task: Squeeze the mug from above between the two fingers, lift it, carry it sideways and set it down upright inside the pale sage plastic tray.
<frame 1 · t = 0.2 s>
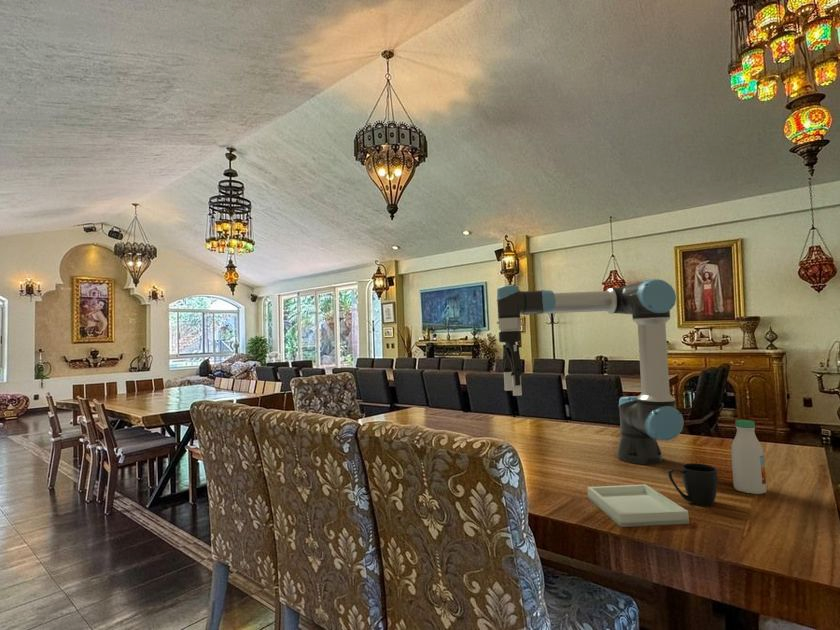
hand: (512, 393, 152), 28 cm above the table, tool pointing down, fingers open, 13 cm apart
mug: (693, 503, 122), on the table
tray: (634, 509, 119), on the table
milk bottle: (750, 490, 130), on the table
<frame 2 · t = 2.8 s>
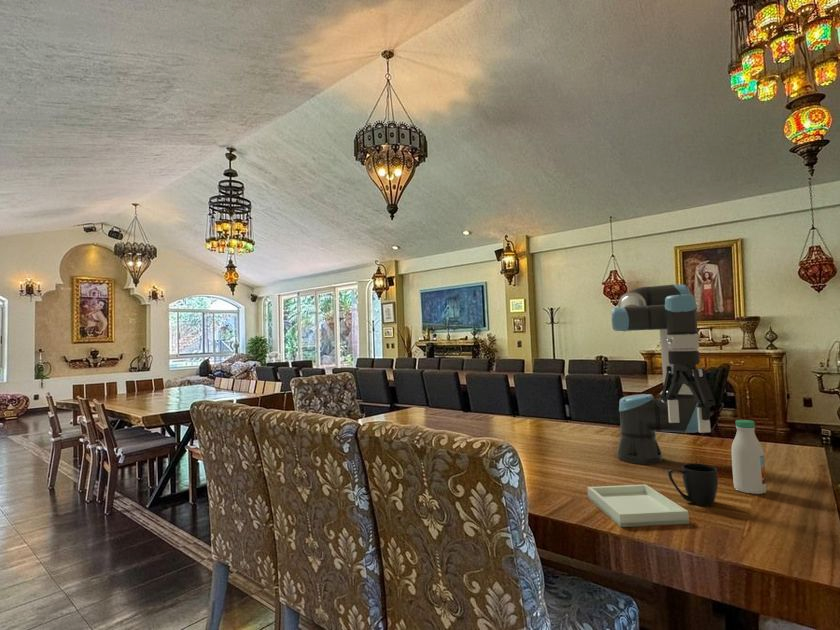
hand: (688, 427, 123), 20 cm above the table, tool pointing down, fingers open, 13 cm apart
nothing on the table moved.
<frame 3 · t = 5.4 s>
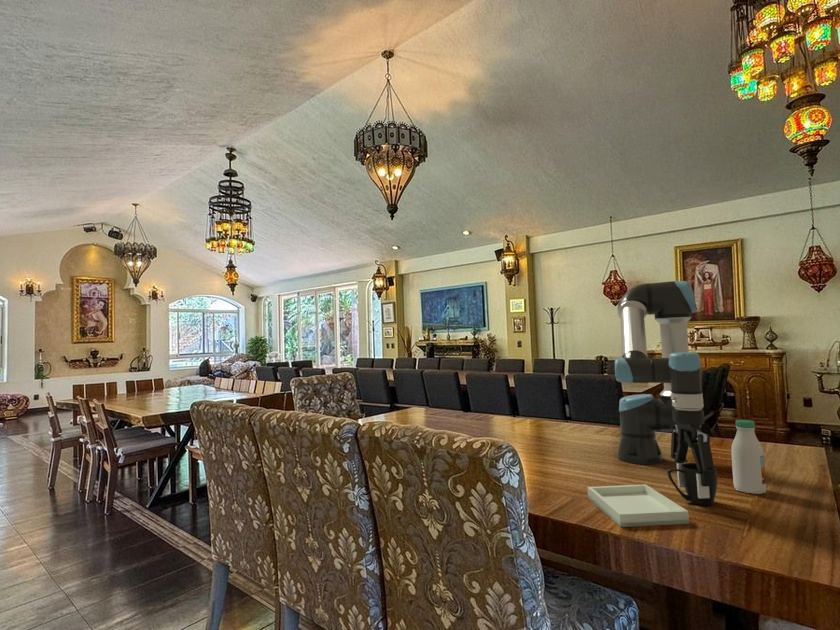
hand: (693, 491, 122), 3 cm above the table, tool pointing down, fingers closed on mug, 8 cm apart
mug: (693, 502, 122), on the table, touching gripper
everything else where it was.
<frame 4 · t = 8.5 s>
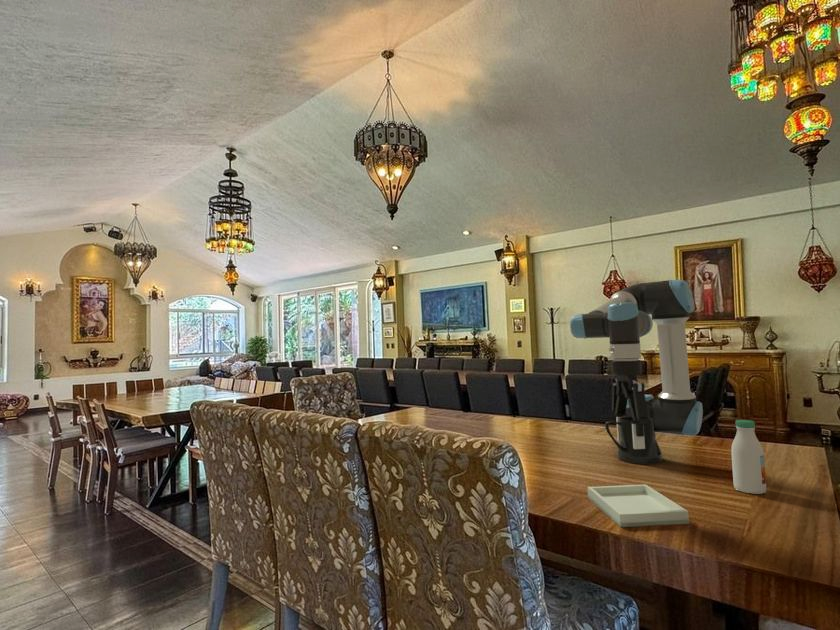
hand: (630, 444, 120), 17 cm above the table, tool pointing down, fingers closed on mug, 8 cm apart
mug: (631, 455, 120), point 14 cm above the table, touching gripper
everything else where it was.
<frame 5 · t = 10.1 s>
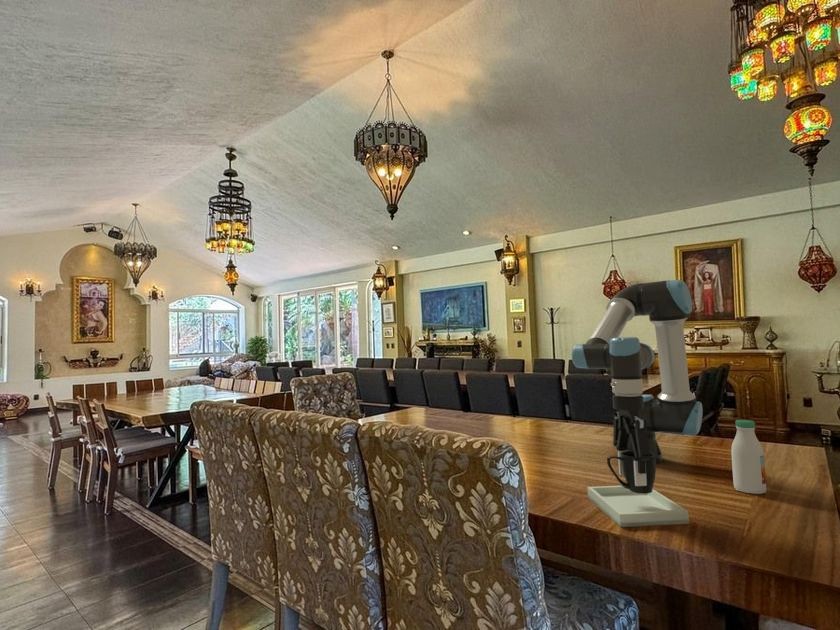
hand: (632, 479, 119), 8 cm above the table, tool pointing down, fingers closed on mug, 8 cm apart
mug: (633, 491, 119), point 5 cm above the table, touching gripper
everything else where it was.
when the fingers open (5 cm above the table, at t = 11.6 s): mug stays where it is, resting on tray.
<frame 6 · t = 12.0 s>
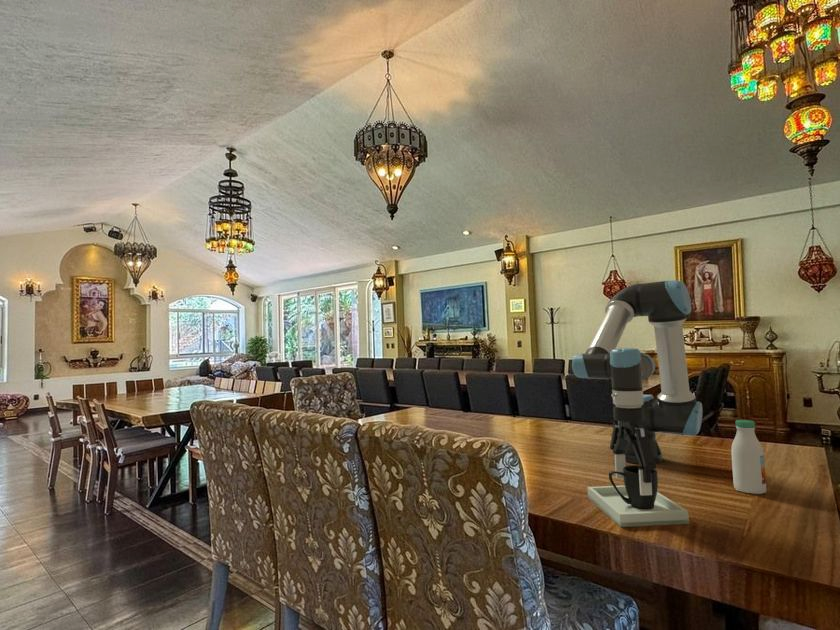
hand: (632, 486, 119), 6 cm above the table, tool pointing down, fingers open, 13 cm apart
mug: (634, 506, 119), point 1 cm above the table, touching tray
everything else where it was.
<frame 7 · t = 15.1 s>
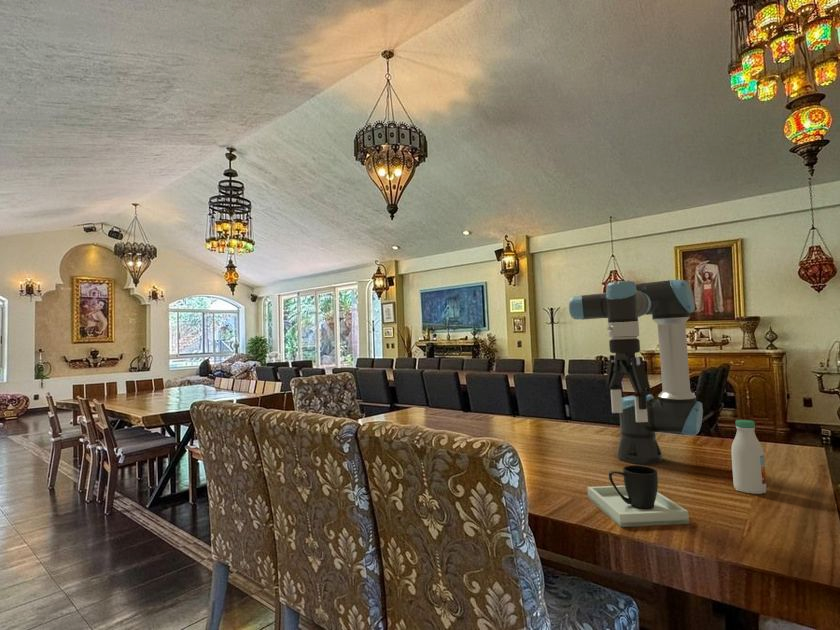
hand: (628, 417, 120), 24 cm above the table, tool pointing down, fingers open, 13 cm apart
nothing on the table moved.
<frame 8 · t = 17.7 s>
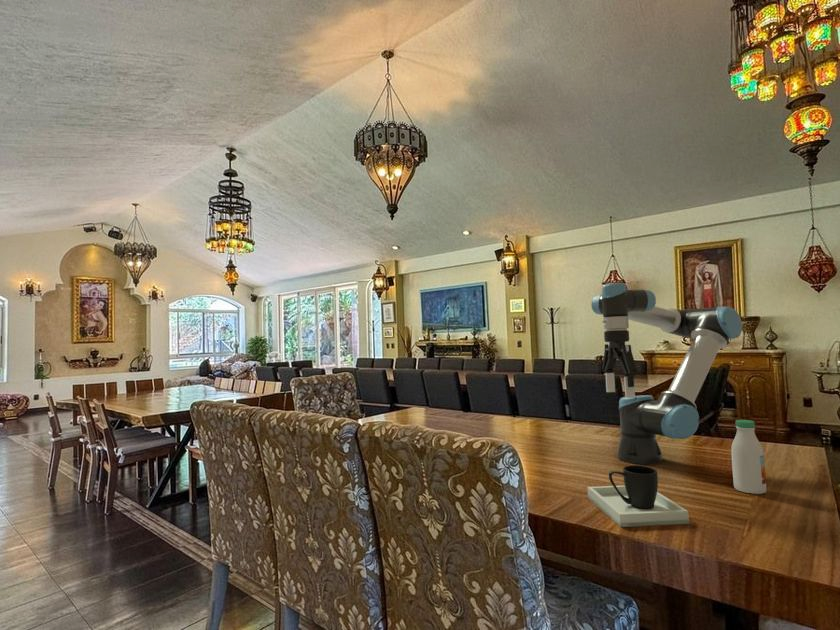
hand: (620, 394, 147), 27 cm above the table, tool pointing down, fingers open, 13 cm apart
nothing on the table moved.
at the end: mug inside the target area on the tray (0.3 cm from its centre), point 0.8 cm above the tray's base; mug tilted 0°; the gripper is holding nothing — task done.
